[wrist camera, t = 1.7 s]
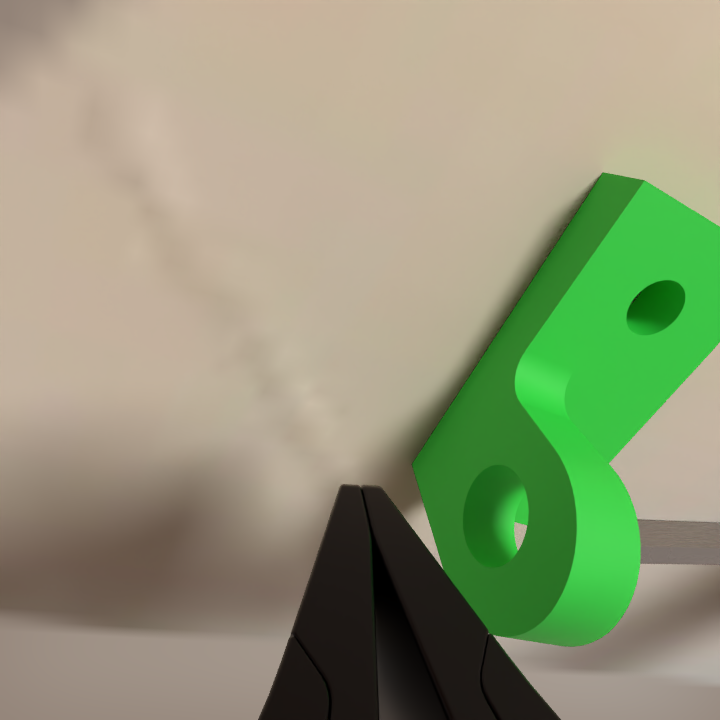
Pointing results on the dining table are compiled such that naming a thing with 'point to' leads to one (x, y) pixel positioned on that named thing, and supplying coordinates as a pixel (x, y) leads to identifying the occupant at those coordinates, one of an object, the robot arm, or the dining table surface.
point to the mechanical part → (571, 416)
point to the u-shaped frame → (679, 542)
